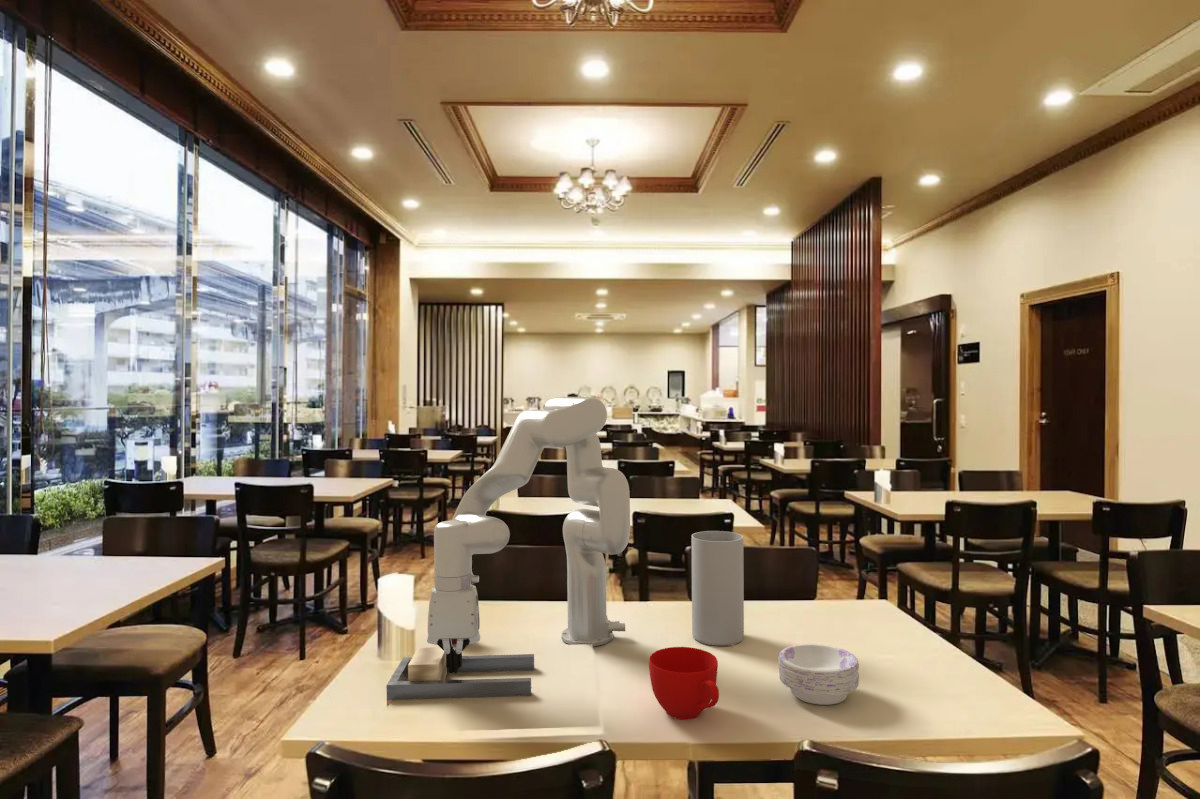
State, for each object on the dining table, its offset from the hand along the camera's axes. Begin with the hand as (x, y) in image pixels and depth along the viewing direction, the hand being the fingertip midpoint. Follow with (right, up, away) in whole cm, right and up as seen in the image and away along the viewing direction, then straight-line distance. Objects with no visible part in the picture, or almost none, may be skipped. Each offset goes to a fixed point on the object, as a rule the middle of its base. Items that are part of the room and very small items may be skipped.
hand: (454, 670), depth 143 cm
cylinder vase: (+59, -3, +28) cm, 65 cm away
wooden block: (-5, -3, 0) cm, 6 cm away
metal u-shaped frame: (+2, -4, 0) cm, 4 cm away
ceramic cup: (+47, -4, -13) cm, 49 cm away
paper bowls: (+73, -3, -5) cm, 74 cm away
